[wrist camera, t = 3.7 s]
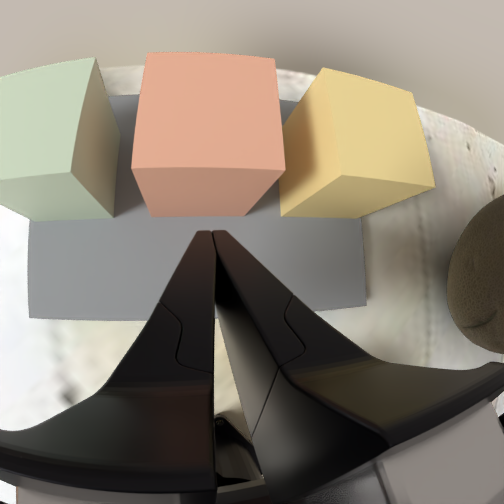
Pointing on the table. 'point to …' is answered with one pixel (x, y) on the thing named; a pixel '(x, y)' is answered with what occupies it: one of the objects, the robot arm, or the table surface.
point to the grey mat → (181, 249)
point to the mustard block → (352, 149)
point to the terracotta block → (207, 133)
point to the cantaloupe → (480, 279)
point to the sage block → (58, 143)
